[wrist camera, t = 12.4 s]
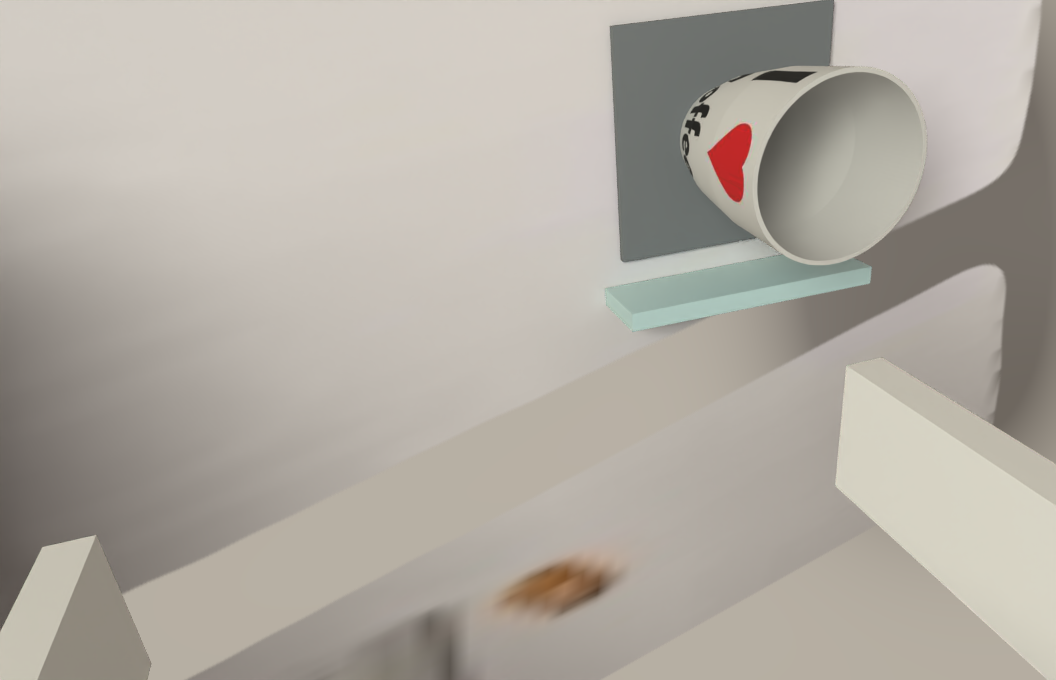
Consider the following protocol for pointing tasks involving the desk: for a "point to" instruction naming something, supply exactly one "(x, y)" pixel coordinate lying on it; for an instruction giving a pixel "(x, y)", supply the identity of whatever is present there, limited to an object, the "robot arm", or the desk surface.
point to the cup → (809, 156)
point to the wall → (728, 289)
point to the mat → (667, 95)
